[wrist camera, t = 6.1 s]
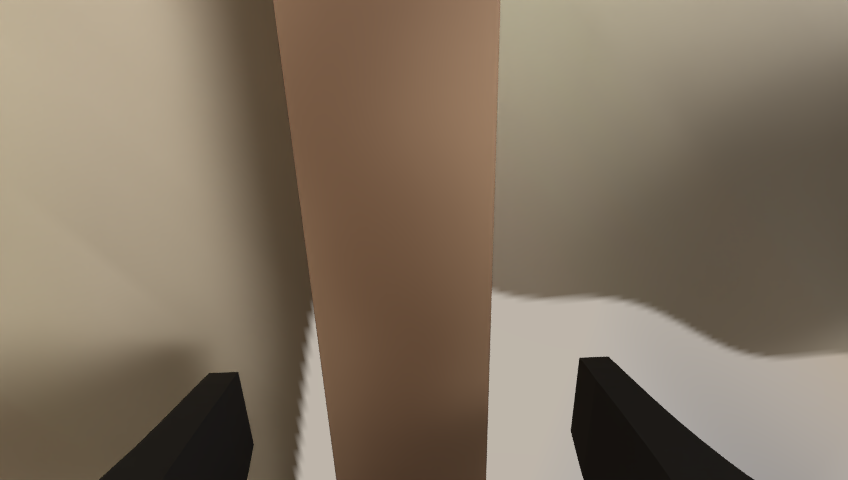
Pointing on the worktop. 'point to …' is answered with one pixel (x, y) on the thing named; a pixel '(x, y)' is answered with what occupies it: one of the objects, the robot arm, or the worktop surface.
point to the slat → (398, 223)
